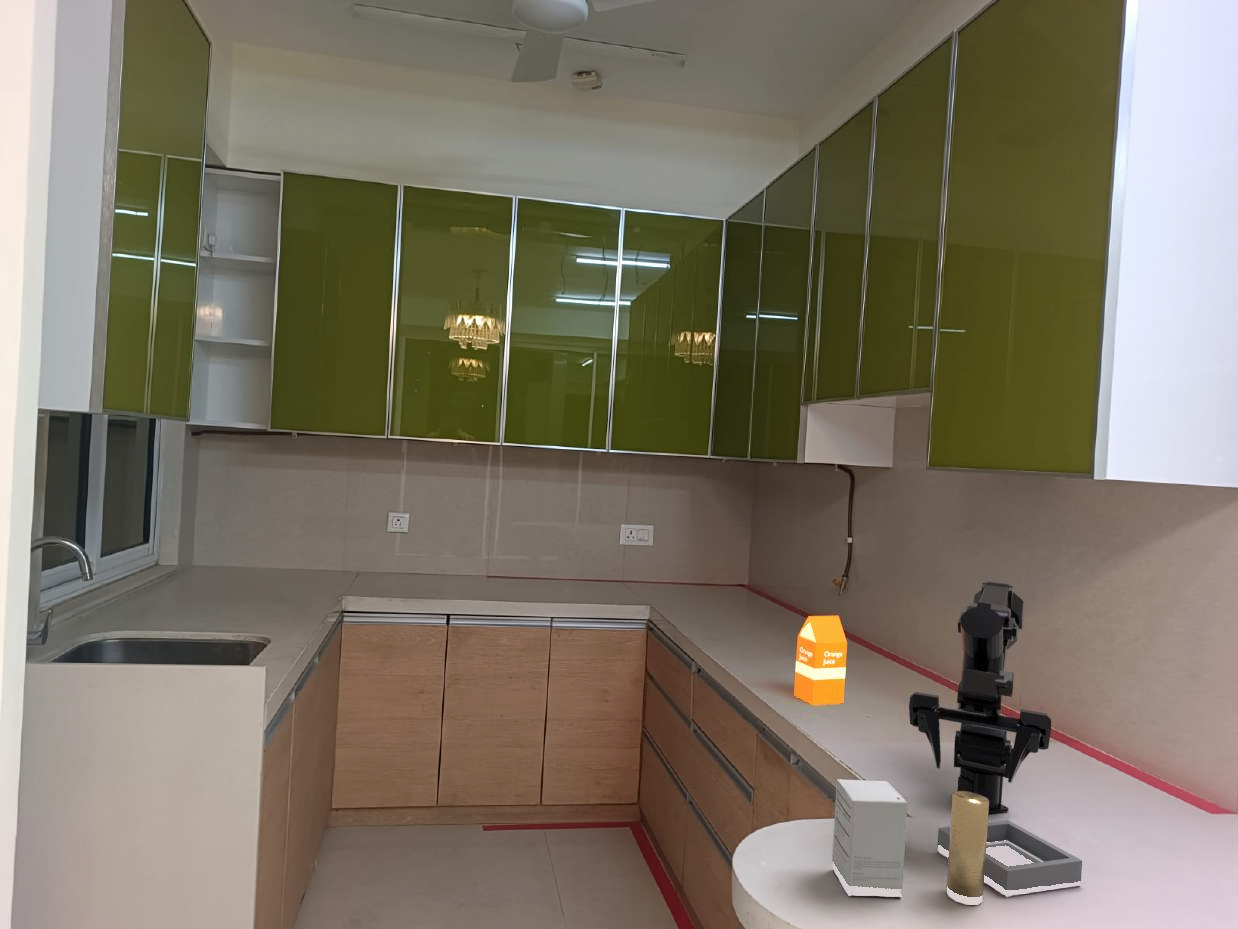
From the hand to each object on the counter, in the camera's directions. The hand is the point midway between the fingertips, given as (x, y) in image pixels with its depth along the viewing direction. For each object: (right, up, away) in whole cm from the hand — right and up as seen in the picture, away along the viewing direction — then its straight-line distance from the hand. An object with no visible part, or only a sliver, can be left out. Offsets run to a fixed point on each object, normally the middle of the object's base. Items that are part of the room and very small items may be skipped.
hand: (973, 774), depth 118 cm
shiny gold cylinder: (-4, -13, -7) cm, 16 cm away
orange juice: (-2, -13, +83) cm, 84 cm away
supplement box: (-17, -13, -5) cm, 22 cm away
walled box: (+5, -14, +2) cm, 15 cm away
